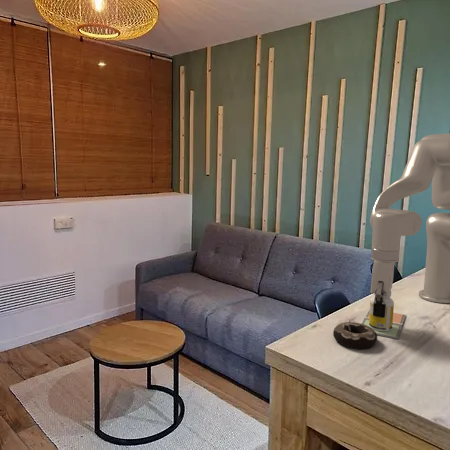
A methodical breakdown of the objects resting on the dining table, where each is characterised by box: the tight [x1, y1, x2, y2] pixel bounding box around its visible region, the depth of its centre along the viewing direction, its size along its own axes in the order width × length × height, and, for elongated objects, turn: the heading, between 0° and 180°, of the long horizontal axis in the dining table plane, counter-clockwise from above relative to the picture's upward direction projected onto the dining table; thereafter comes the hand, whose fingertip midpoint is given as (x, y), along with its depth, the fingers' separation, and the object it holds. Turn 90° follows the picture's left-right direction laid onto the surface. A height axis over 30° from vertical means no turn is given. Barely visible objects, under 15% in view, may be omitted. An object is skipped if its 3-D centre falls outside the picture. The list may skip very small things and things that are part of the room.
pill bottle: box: [369, 290, 395, 331], centre depth 116 cm, size 6×6×12 cm
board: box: [361, 309, 406, 340], centre depth 122 cm, size 20×11×1 cm, turn 150°
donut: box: [332, 321, 378, 350], centre depth 109 cm, size 12×12×4 cm
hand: (381, 311), depth 116 cm, fingers open, 9 cm apart
